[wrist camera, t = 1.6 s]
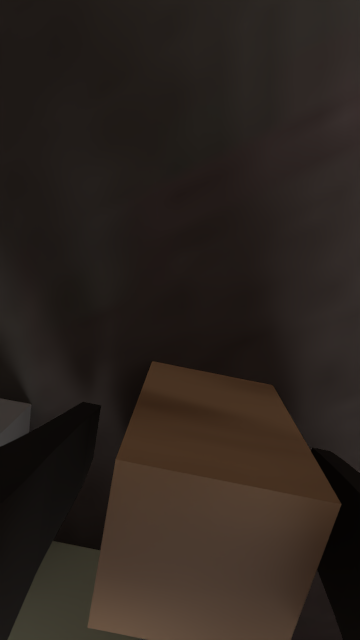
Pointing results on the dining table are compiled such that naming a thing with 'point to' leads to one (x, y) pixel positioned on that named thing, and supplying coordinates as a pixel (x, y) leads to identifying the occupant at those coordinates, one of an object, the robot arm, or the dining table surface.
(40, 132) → the dining table surface
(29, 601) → the sage block
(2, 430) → the grey square block
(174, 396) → the walnut block
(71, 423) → the robot arm
